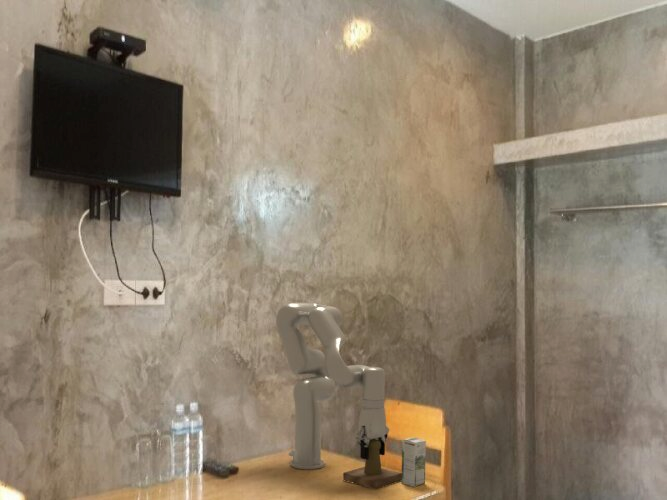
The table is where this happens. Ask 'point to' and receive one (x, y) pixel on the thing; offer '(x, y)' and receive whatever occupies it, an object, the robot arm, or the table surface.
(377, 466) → the cork
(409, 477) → the syrup box
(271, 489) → the table surface
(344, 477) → the walnut base
